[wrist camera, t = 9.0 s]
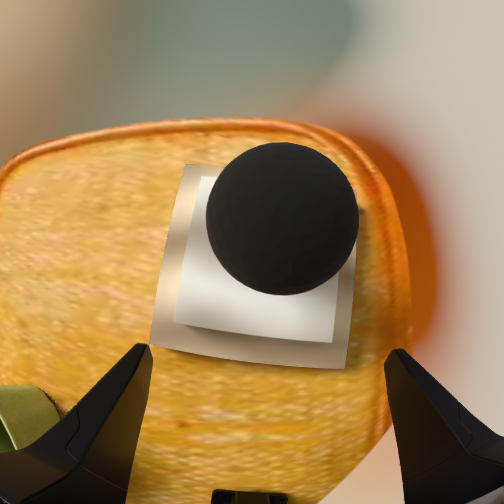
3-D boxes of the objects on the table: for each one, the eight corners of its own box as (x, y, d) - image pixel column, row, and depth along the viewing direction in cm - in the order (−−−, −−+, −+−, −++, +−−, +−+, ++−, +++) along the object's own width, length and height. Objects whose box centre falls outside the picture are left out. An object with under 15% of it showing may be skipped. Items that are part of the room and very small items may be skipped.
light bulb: (291, 204, 19) (337, 101, 9) (323, 286, 17) (414, 247, 8) (206, 229, 18) (177, 132, 8) (234, 317, 17) (231, 316, 7)
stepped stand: (335, 365, 20) (355, 373, 16) (156, 341, 20) (139, 346, 16) (347, 199, 23) (365, 179, 19) (189, 175, 23) (181, 150, 19)
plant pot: (87, 463, 16) (41, 502, 8) (23, 443, 16) (-25, 465, 7) (64, 374, 18) (0, 389, 10) (4, 364, 18) (-54, 368, 9)
